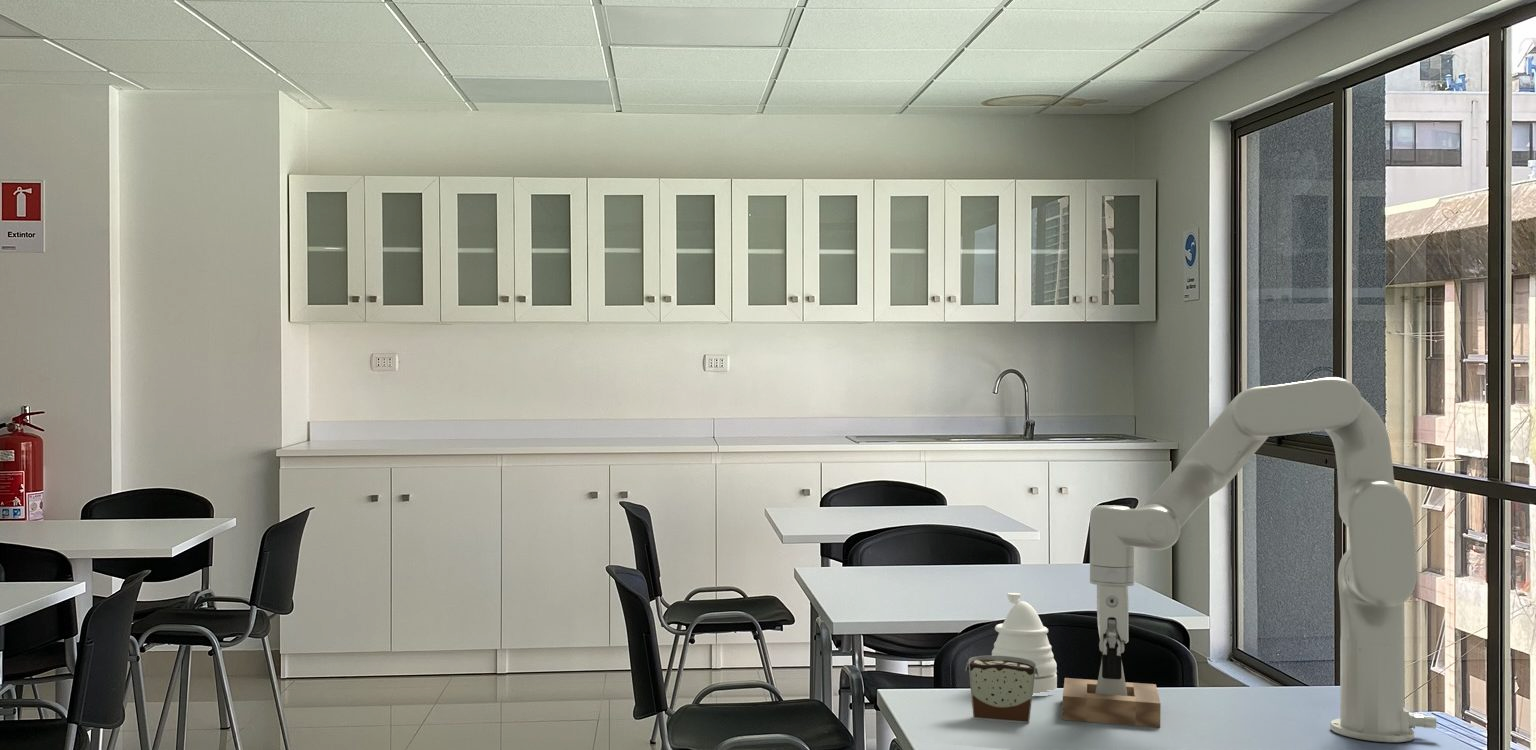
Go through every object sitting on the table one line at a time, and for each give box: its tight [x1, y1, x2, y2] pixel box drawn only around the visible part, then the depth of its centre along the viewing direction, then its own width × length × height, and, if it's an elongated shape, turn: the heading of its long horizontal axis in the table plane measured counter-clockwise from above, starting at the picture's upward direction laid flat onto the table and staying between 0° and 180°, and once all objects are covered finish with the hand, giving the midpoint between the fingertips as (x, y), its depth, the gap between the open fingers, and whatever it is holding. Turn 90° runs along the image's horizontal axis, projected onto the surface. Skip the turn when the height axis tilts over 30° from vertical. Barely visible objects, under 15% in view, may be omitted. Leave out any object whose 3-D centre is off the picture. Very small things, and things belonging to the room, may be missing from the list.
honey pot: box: [991, 592, 1058, 693], centre depth 233 cm, size 13×13×18 cm
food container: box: [965, 655, 1039, 724], centre depth 211 cm, size 12×6×10 cm, turn 74°
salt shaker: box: [1095, 639, 1128, 696], centre depth 215 cm, size 6×6×13 cm
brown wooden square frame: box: [1062, 677, 1162, 728], centre depth 215 cm, size 16×16×4 cm
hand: (1111, 673), depth 215 cm, fingers open, 9 cm apart
